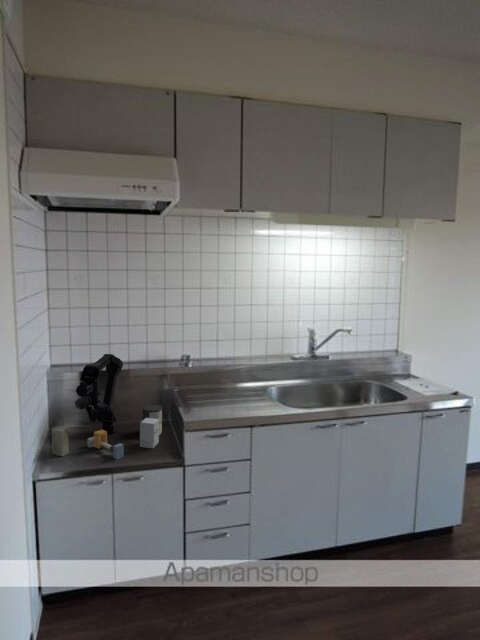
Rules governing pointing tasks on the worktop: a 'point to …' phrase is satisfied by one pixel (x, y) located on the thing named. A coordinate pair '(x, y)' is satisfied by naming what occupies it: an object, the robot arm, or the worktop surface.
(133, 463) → the worktop surface
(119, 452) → the grey mallet
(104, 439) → the sleeve
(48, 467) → the worktop surface
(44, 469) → the worktop surface
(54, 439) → the skincare box
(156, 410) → the coffee can
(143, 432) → the supplement box
